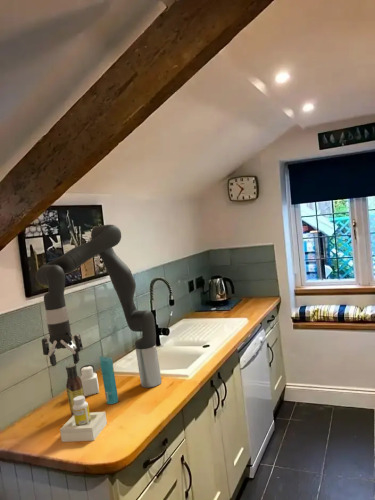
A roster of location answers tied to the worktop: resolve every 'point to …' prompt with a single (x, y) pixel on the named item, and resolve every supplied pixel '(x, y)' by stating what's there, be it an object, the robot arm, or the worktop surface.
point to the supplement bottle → (81, 411)
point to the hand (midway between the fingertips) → (65, 364)
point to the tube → (109, 379)
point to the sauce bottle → (73, 385)
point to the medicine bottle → (89, 380)
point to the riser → (83, 428)
